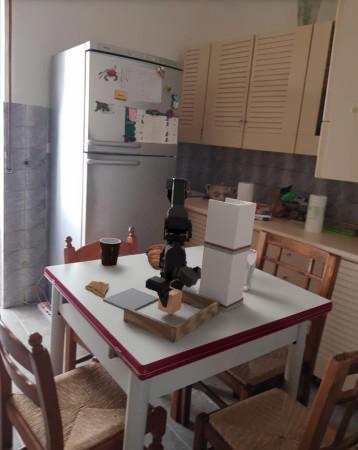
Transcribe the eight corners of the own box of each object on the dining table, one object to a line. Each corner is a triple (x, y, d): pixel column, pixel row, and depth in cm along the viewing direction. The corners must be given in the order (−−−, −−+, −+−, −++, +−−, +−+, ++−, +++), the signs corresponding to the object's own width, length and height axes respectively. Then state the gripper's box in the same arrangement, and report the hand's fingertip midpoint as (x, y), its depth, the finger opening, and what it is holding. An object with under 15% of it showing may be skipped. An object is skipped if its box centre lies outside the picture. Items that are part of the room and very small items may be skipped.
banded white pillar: (242, 303, 130) (256, 203, 122) (225, 311, 122) (239, 205, 114) (215, 292, 137) (227, 197, 130) (198, 300, 129) (209, 199, 121)
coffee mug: (102, 259, 162) (103, 237, 160) (122, 262, 161) (123, 239, 159) (92, 267, 151) (94, 243, 149) (113, 270, 150) (115, 246, 148)
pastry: (185, 266, 164) (187, 248, 162) (154, 270, 155) (156, 251, 154) (165, 255, 177) (167, 238, 176) (136, 258, 169) (137, 240, 167)
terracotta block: (167, 304, 119) (169, 286, 118) (180, 309, 116) (182, 291, 115) (157, 309, 115) (159, 290, 114) (171, 314, 112) (172, 295, 111)
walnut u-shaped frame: (173, 296, 130) (174, 285, 129) (218, 313, 120) (220, 301, 119) (123, 320, 110) (124, 307, 109) (173, 343, 100) (174, 329, 99)
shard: (103, 299, 124) (103, 294, 124) (80, 297, 124) (80, 292, 123) (109, 286, 135) (109, 282, 134) (88, 285, 134) (88, 280, 134)
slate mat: (132, 289, 133) (132, 287, 133) (158, 299, 127) (158, 297, 127) (103, 300, 122) (103, 298, 122) (130, 312, 115) (131, 310, 115)
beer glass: (255, 289, 144) (261, 251, 141) (245, 293, 139) (251, 254, 136) (240, 283, 149) (245, 246, 146) (230, 287, 144) (235, 249, 141)
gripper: (178, 270, 100) (173, 323, 103) (213, 256, 115) (207, 303, 119) (146, 259, 106) (142, 310, 109) (183, 247, 121) (178, 293, 125)
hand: (169, 304), depth 115 cm, fingers closed on terracotta block, 5 cm apart
